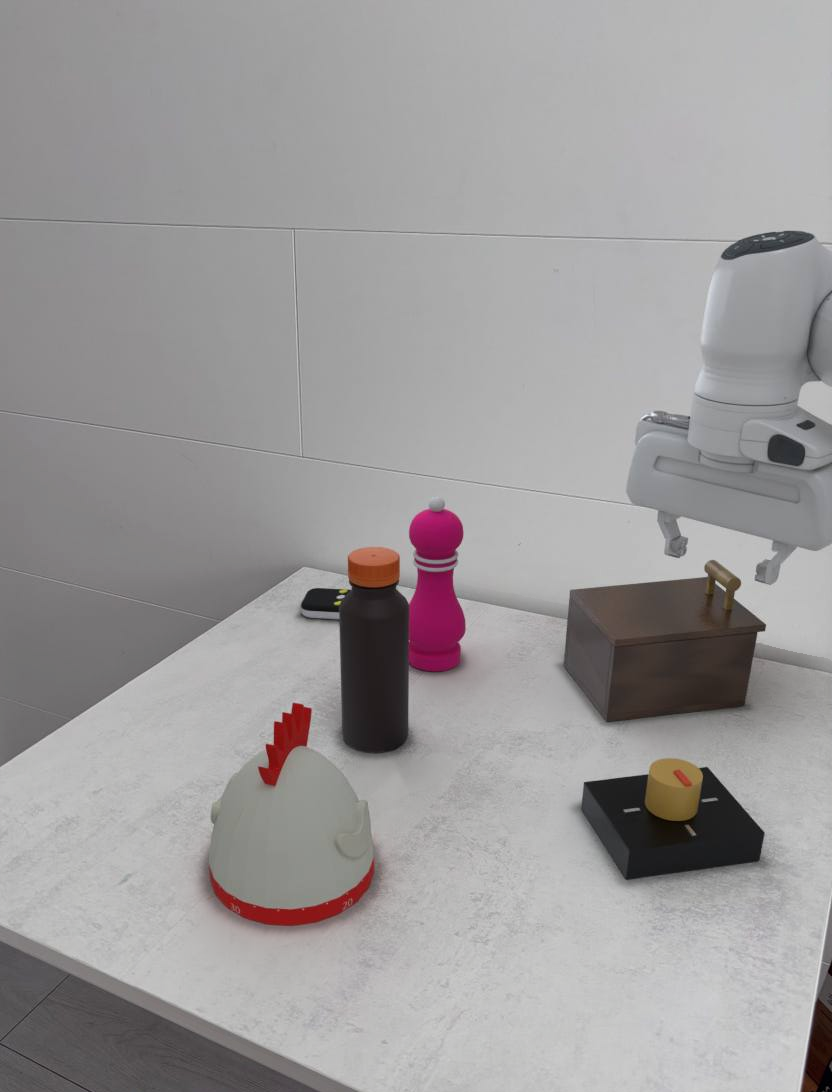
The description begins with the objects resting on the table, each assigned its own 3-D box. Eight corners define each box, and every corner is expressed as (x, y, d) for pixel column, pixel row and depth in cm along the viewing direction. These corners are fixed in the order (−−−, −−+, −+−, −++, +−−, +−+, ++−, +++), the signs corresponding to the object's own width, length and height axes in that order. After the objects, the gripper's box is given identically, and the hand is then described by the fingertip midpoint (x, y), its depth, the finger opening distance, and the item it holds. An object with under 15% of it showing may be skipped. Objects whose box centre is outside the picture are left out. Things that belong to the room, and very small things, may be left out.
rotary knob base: (702, 793, 96) (707, 765, 94) (759, 861, 87) (765, 831, 85) (580, 808, 94) (583, 780, 92) (625, 879, 85) (629, 849, 84)
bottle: (406, 718, 108) (408, 542, 99) (409, 753, 102) (411, 569, 93) (342, 719, 108) (338, 543, 99) (342, 754, 102) (337, 570, 93)
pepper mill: (396, 648, 123) (397, 488, 114) (455, 642, 124) (459, 483, 115) (410, 677, 116) (412, 510, 107) (472, 670, 117) (478, 505, 108)
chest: (689, 652, 120) (699, 584, 116) (744, 706, 109) (757, 632, 105) (563, 665, 118) (569, 596, 114) (606, 722, 107) (614, 647, 103)
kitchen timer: (396, 838, 90) (397, 691, 84) (336, 943, 79) (331, 783, 72) (256, 805, 95) (245, 663, 88) (179, 899, 84) (160, 745, 77)
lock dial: (635, 794, 90) (640, 758, 89) (681, 787, 91) (687, 752, 89) (659, 824, 87) (665, 787, 85) (707, 817, 87) (713, 780, 86)
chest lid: (706, 583, 117) (712, 545, 114) (765, 631, 105) (772, 590, 103) (569, 596, 114) (572, 557, 112) (614, 647, 103) (619, 605, 101)
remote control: (308, 598, 136) (308, 584, 135) (404, 603, 134) (404, 589, 133) (298, 618, 130) (298, 604, 130) (398, 624, 128) (398, 610, 128)
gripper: (621, 413, 97) (607, 549, 103) (837, 455, 84) (806, 608, 90) (657, 401, 101) (642, 532, 107) (868, 439, 88) (837, 587, 94)
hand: (718, 567), depth 98 cm, fingers open, 8 cm apart
